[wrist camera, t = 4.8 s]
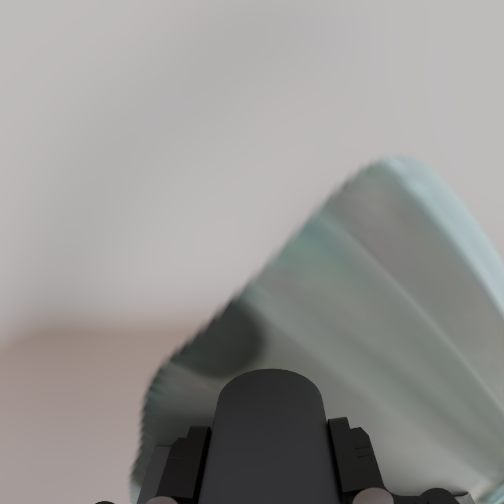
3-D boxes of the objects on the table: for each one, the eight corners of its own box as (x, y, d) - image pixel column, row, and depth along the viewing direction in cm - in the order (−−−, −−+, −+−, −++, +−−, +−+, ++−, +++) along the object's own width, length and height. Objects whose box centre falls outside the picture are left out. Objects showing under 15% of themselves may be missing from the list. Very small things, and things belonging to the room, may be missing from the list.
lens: (325, 360, 12) (368, 549, 4) (323, 437, 13) (344, 586, 6) (206, 369, 12) (157, 552, 5) (224, 443, 14) (202, 590, 6)
